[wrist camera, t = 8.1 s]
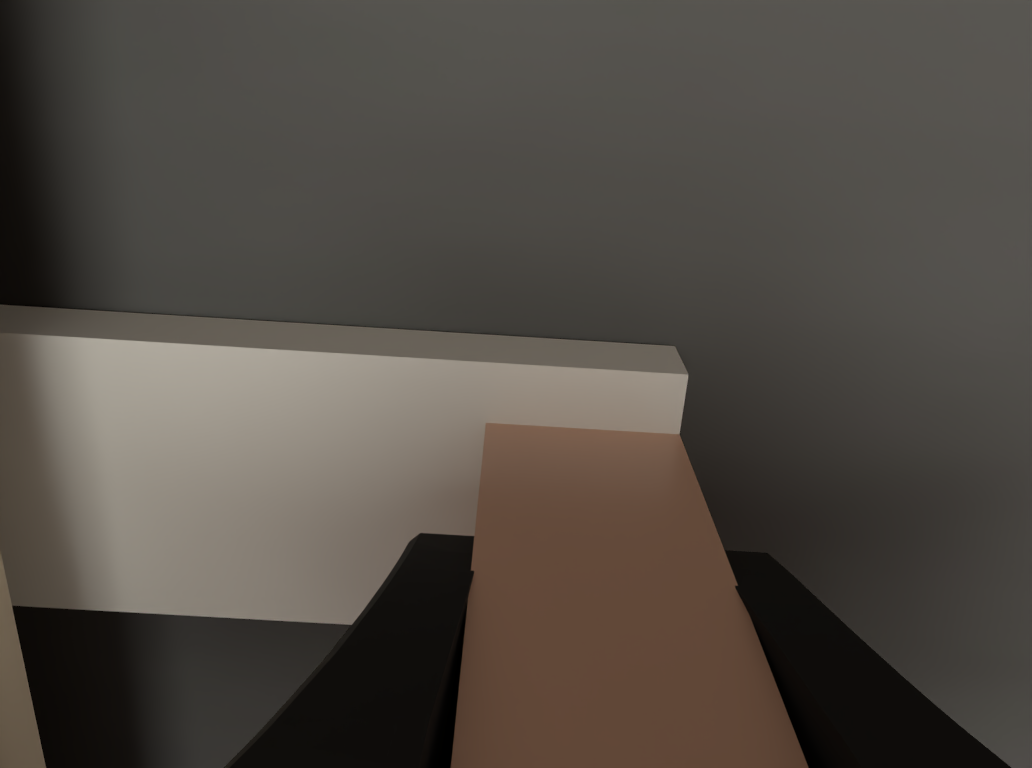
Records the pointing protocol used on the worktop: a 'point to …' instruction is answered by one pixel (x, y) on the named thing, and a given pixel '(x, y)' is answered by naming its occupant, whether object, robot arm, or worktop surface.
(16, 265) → the worktop surface
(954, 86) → the worktop surface
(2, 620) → the birch shelf
